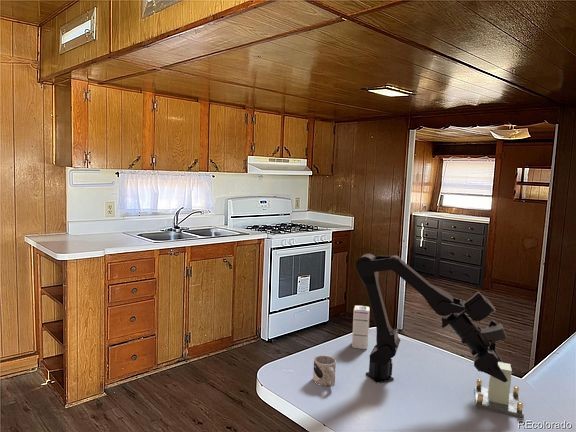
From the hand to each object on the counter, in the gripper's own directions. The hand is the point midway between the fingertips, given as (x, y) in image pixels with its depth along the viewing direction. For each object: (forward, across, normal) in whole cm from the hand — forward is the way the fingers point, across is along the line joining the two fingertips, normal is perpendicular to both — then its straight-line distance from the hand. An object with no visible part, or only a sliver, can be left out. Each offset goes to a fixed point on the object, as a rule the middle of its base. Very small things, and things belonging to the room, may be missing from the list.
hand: (504, 374), depth 127 cm
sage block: (+5, 0, +6) cm, 8 cm away
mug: (-28, -11, +41) cm, 51 cm away
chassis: (+5, 0, +7) cm, 9 cm away
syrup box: (-26, +23, +39) cm, 52 cm away
